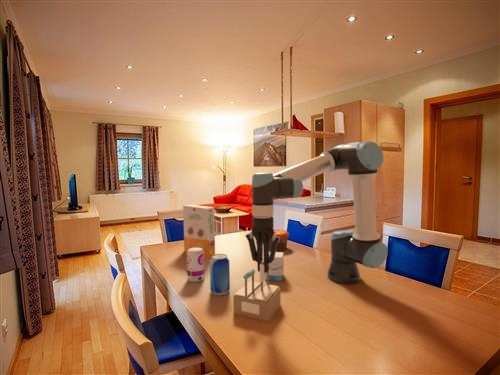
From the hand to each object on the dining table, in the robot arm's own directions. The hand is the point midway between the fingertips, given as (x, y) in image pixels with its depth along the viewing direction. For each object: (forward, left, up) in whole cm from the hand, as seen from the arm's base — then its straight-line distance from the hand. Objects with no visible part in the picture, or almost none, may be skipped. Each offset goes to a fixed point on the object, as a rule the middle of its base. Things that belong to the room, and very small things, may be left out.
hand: (263, 280), depth 102 cm
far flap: (+8, -3, -6) cm, 10 cm away
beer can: (+25, -10, -14) cm, 30 cm away
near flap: (0, -4, -6) cm, 7 cm away
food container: (+25, -83, -14) cm, 88 cm away
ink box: (+9, -35, -14) cm, 39 cm away
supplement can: (+43, -17, -14) cm, 48 cm away
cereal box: (+66, -52, -14) cm, 85 cm away
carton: (+4, -3, -13) cm, 14 cm away
